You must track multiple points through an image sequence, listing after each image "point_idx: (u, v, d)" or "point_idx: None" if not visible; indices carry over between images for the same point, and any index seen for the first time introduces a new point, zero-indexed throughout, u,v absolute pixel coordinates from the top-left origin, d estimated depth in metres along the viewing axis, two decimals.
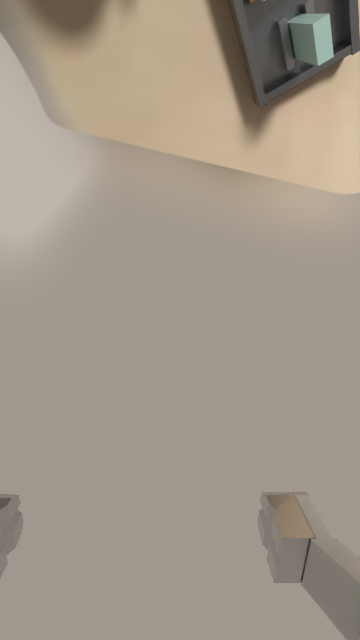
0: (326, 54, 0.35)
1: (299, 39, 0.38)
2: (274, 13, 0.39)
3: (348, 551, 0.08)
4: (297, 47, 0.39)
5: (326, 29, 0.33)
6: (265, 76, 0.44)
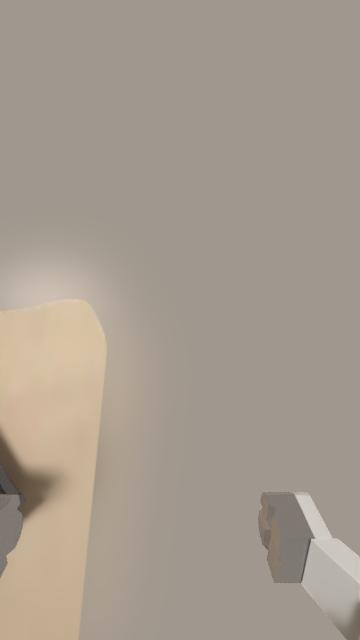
0: None
1: None
2: None
3: (348, 551, 0.08)
4: None
5: None
6: None
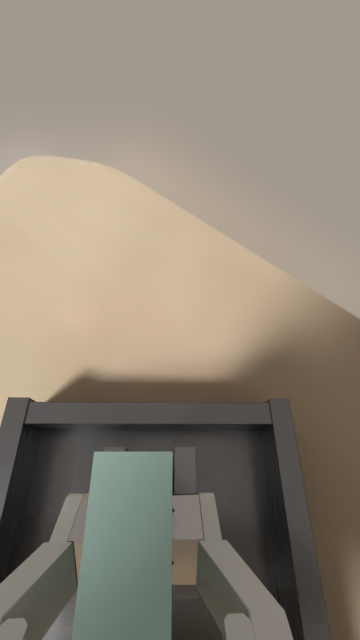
0: (127, 481, 0.07)
1: None
2: (192, 606, 0.13)
3: (234, 553, 0.08)
4: None
5: (99, 618, 0.06)
6: (241, 460, 0.16)
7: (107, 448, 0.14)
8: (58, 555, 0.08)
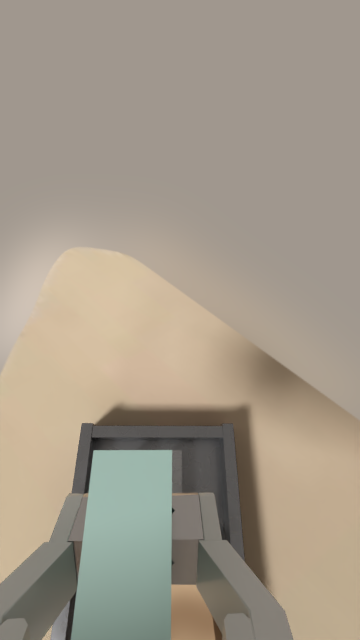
0: (126, 479, 0.07)
1: None
2: None
3: (234, 553, 0.08)
4: None
5: (99, 617, 0.06)
6: (208, 457, 0.29)
7: None
8: (58, 555, 0.08)
